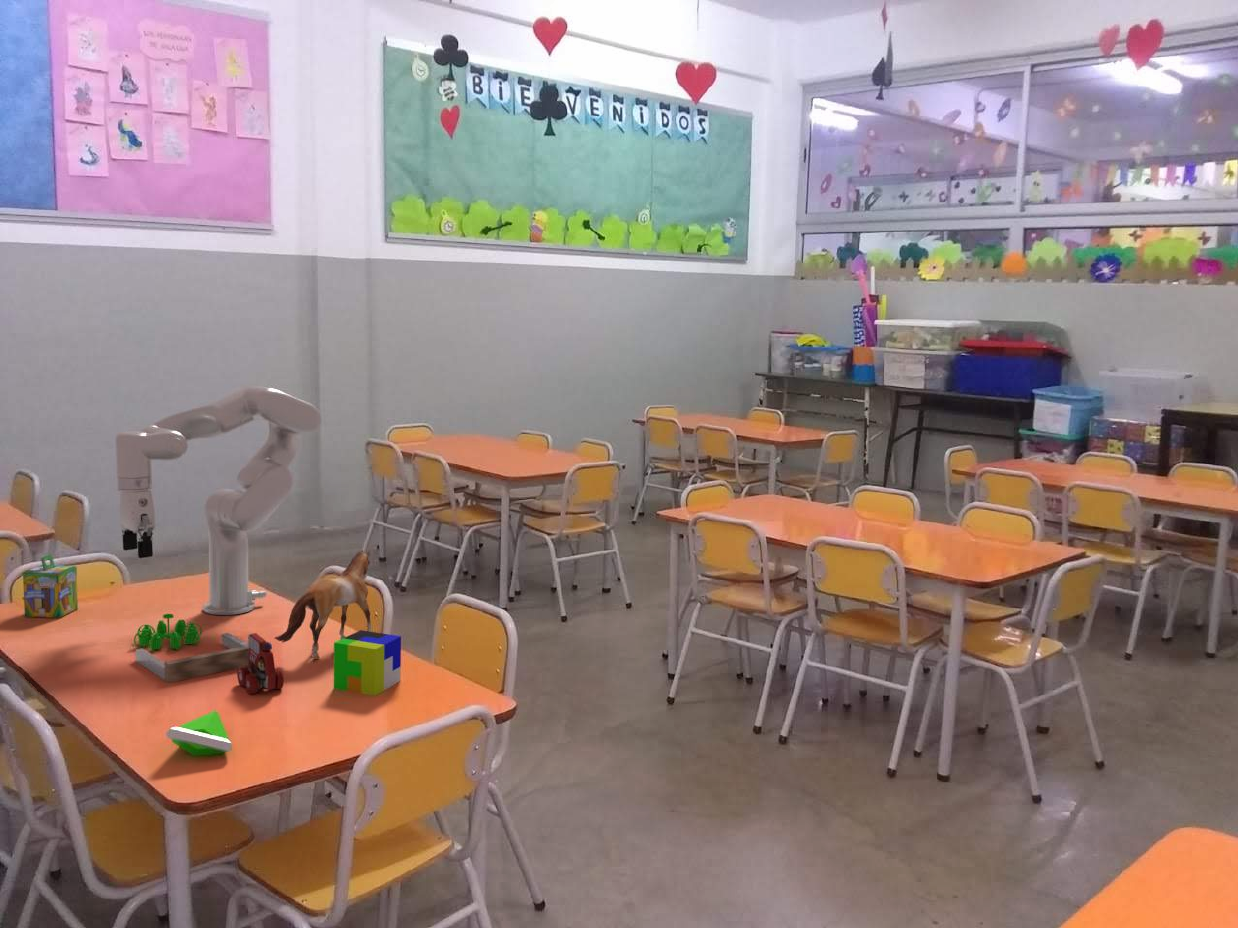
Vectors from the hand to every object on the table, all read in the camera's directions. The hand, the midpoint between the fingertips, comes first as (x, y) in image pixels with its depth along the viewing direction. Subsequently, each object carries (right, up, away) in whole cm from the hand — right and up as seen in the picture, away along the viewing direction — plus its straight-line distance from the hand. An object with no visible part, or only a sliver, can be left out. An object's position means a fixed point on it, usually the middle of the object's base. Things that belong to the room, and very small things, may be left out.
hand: (137, 553), depth 253 cm
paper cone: (+39, -29, -61) cm, 78 cm away
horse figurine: (+47, -22, -5) cm, 52 cm away
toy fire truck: (+41, -25, -34) cm, 59 cm away
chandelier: (+11, -21, -8) cm, 25 cm away
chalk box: (-27, -16, +11) cm, 33 cm away
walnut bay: (+23, -22, -20) cm, 38 cm away
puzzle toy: (+63, -26, -30) cm, 74 cm away
